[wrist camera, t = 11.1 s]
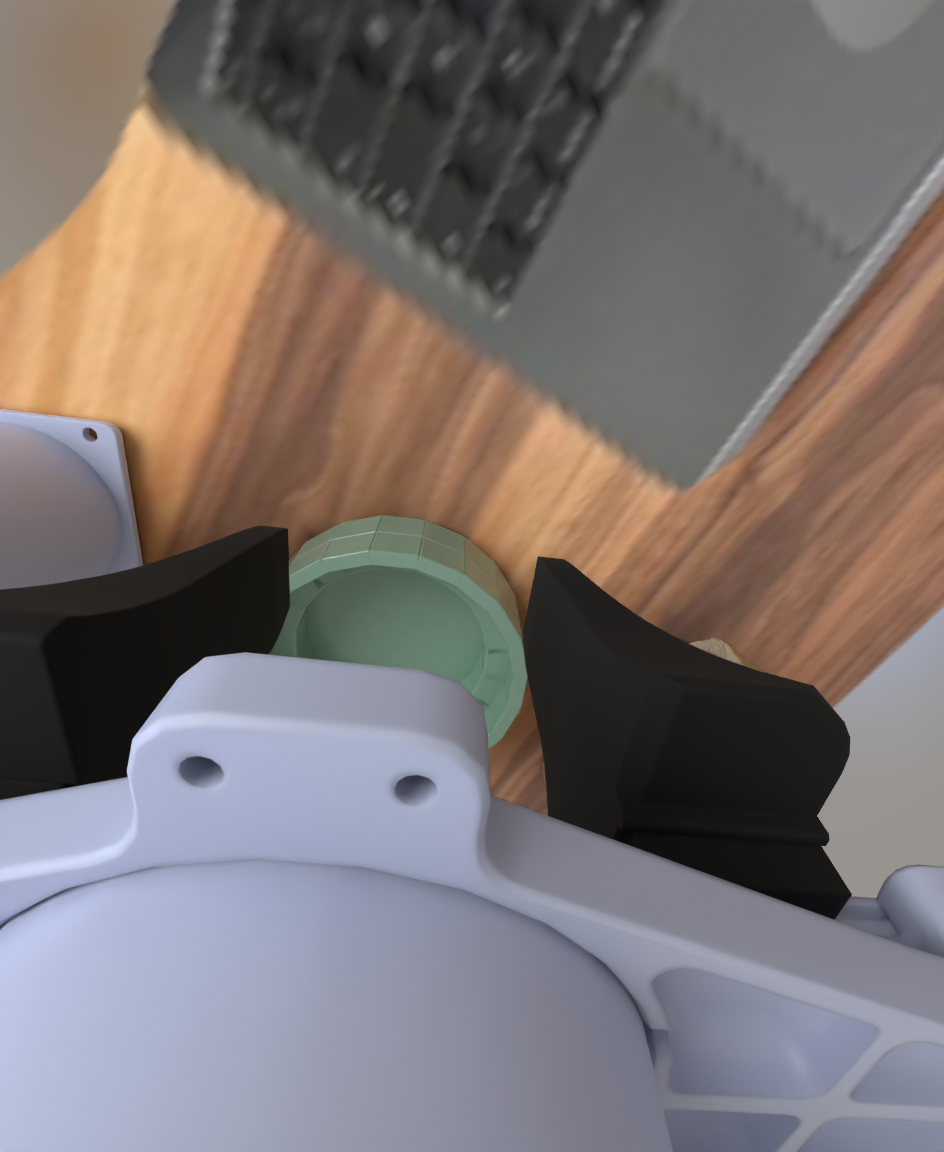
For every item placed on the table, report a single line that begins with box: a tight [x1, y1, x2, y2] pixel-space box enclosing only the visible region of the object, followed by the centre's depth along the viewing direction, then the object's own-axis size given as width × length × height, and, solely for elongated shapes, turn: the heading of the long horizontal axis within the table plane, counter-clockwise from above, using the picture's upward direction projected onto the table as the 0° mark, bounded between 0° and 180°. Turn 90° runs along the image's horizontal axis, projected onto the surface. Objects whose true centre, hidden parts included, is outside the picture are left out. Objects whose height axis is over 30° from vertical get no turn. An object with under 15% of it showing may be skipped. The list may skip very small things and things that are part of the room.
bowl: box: [269, 515, 528, 749], centre depth 24 cm, size 11×11×4 cm
